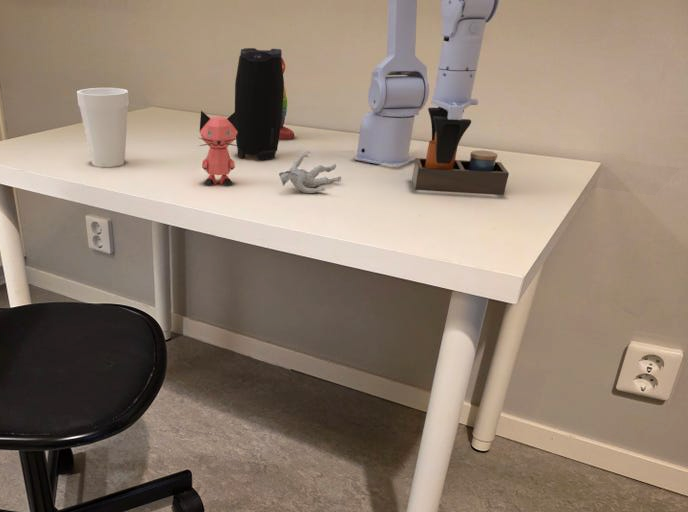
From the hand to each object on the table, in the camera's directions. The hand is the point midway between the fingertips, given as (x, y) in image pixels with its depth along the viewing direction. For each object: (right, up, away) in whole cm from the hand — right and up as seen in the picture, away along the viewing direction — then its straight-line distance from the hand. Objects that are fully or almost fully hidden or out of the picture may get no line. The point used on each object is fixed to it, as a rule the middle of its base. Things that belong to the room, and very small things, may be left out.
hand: (440, 157), depth 107 cm
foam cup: (-59, +4, +17) cm, 61 cm away
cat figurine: (-37, -3, +6) cm, 38 cm away
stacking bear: (-26, +17, +38) cm, 49 cm away
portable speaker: (-29, +7, +22) cm, 38 cm away
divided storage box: (+3, -5, +2) cm, 6 cm away
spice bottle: (0, -4, +2) cm, 4 cm away
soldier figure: (-22, -5, +3) cm, 22 cm away
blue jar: (+7, -5, +1) cm, 8 cm away
